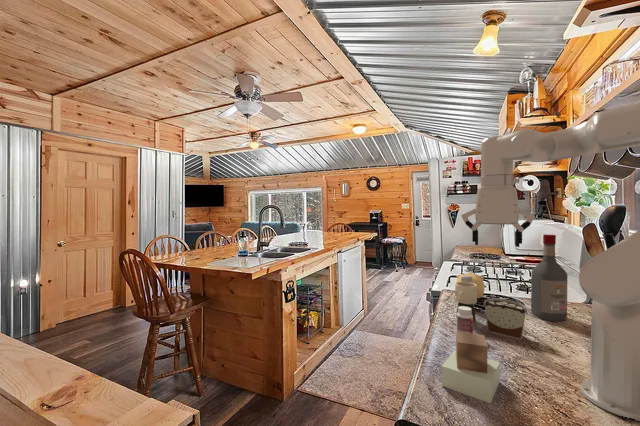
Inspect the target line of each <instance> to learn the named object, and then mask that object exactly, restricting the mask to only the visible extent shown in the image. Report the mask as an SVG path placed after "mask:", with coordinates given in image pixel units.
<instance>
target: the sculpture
mask: <svg viewBox="0 0 640 426" xmlns="http://www.w3.org/2000/svg"><path fill="white" fill-rule="evenodd" d="M462 275H469V276H471V277H472V279H473V281H472V282H471V283H474V284H476V285H477V298H478V299H480V298H482V297H483V296H484V293H485V284H484V281H483V280H485V279H484V278H485V277H483V276H481V275H479V274H476V273H475V274H474V273H472V272H466V273H460V274H456V275H455V277H456V281H455V283H456V282H462V281H461V276H462Z"/></svg>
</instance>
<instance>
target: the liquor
mask: <svg viewBox="0 0 640 426" xmlns="http://www.w3.org/2000/svg"><path fill="white" fill-rule="evenodd" d="M542 236H543V237H542V243H543V252H542V253H543V254H542V255H543V257H542V259H541V261H540V262H539V263H538V264H537V265H536V266H534V267H533V268H532V270H531V277H530V278H531V279H530V280H531V282H530V283H531V285H530V286H531V289H530V290H531V291H530V292H531V293H530V294H531V296H530V298H531V299H530V300H531V301H530V305H531V306H530V312H531V314H532V315H533V316H534V317H537V318H538V319H540V320H542V321H543V320H544V321H549V322H565V320H566V319H567V318H568V276H569V275H568V273H567V271H566V270H565V269H564V268H563V267H562V266H561V265H560V264H559V263H558V262H557V259H556V243H557V242H556V241H557V239H556V238H557V235H556V234H543V235H542Z"/></svg>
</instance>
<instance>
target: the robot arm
mask: <svg viewBox="0 0 640 426" xmlns="http://www.w3.org/2000/svg"><path fill="white" fill-rule="evenodd" d="M634 147H640V102H636V103H630V104H627V105H626V104H625V105H623V106H617V107H614V108H608V109H605V110H601V111H598V112H597V113H595V114H594V115H593V116H592V117H590V118H589V119H588V120H587V121H585V122H583V123H581V124H578V125H575V126H572V127H569V128H563V129H559V130H556V131H555V130H554V131H550V132H541V131H538V130H534V129H530V128H525V129H519V130H515V131H512V132H510V133H509V132H508V133H506V134H503V135H494V136H490V137H486V138H484V139H483V140H482V141H481V144H480V187H479V188H477V192H476V200H475V208H474V209H472V210H469V211H467V212H465V213H463V214H461V218H462V220H463V222H464V224H465V225H466V227H468V228H469V229H470V230H472V231H471V232H472V237H471V238H472V242H473V243H475V244H474V246H478V245H479V230H478V228H479V227H480V226H482V225H512V226H513V227H514V228H515V231H514V247H516V248H520V244H523V232H524V231H525V230H526V229H527V228H528V227H530V226H531V225H532V223H533V222H534V220H535V218H536V215H535V214H533V213H530V212H528V211H526V210H524V209H521V208H519V197H518V191H517V187H515V186H514V184H519V183H520V177H515V176H514V161H523V162H524V161H525V162H530V163H544V162H554V161H558V160H567V159H573V158H578V157H579V158H580V157H584V156H589V155H594V154H601V153H603V152H610V151H614V150H615V151H616V150H621V149H628V148H634ZM474 214H475V221H476V222H474V224H473V223H472V222H471V221H470V219H469V217H470V216H471V217H472V216H473V215H474ZM520 215H522V216H523V217H526V219H525V221H524V222H523V223H522V224H520V223H519V219H520ZM578 282H579V286H580V287H581V290H582V291H583V293H584V294H586V296H587V297H588V298H590V299H592V304H591V321H590V322H591V324H590V379H587V380H584V381H582V382H581V384H580V390H581V394H583V396H584V397H585V398H586V399H587V400H589V402H591V403H593V404H594V405H595V406H598V407H599V408H600V409H603V410H605V411H607V412H610V413H612V414H613V415H616V416H620V417H622V416H623V418H625V417H627V418H626V419H629V418H633V419H635V420H634V421H636V422H637V421H638V422H640V229H639V230H637V231H635V232H633V233H632V234H631V235H628V236H627V237H625V238H624V239H622V240H620V241H619V242H617V243H616V244H613V245H612V246H610V247H609V248H607V249H605V250H604V251H602V252H600V253H598V254H597V255H595V256H594V257H593V258H590V259H589V260H588V261H586V262H585V263H584V264H583V265H582V266H581V268H580V271H579V274H578Z"/></svg>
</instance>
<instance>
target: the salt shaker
mask: <svg viewBox="0 0 640 426" xmlns="http://www.w3.org/2000/svg"><path fill="white" fill-rule="evenodd" d="M461 281H462V282H470V283H471V282H472V281H473V279H472V277H471V276H469V275H462V276H461ZM473 306H474V307H475V304H473Z"/></svg>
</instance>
